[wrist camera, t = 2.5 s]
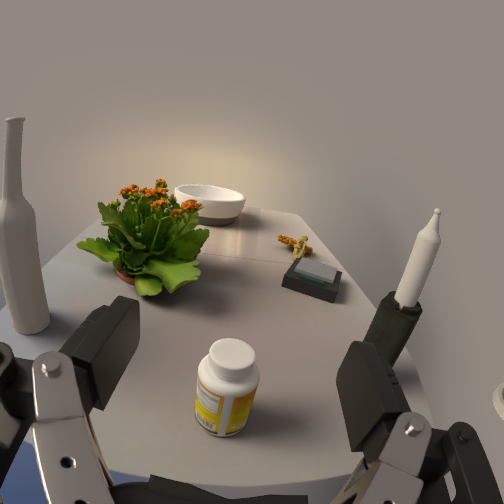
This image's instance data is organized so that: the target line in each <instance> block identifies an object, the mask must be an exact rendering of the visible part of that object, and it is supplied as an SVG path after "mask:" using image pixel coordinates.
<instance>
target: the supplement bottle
mask: <svg viewBox="0 0 504 504" xmlns="http://www.w3.org/2000/svg"><path fill="white" fill-rule="evenodd" d="M255 359H256V355H255V351H254V350H253V348H252V347H251V346H250V345H249V344H247V343H245V342H243V341H241V340H238V339H233V338H225V339H220V340H218V341H216V342H215V343H213V344H212V346H211V348H210V351H209V354H208V355H207V356H205V357H204V358H203V359H202V361H201V362H200V365H199V368H198V378H197V390H196V404H195V418H196V421H197V423H198V424H199V426H200V427H201V428H202V429H203V430H204V431H206V432H208V433H210V434H212V435H215V436H231V435H234V434H236V433H238V432H239V431H241V430H242V429H243V427H244V426H245V424H246V421H247V418H248V415H249V412H250V409H251V406H252V402H253V399H254V396H255V392H256V389H257V386H258V382H259V377H260V375H259V370H258V367H257V365H256V364H255Z"/></svg>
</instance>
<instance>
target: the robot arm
mask: <svg viewBox="0 0 504 504" xmlns="http://www.w3.org/2000/svg"><path fill="white" fill-rule="evenodd" d="M139 339H140V308H139V301H138V300H134V299H130V298H127V297H123V296H118V297H117V298H116V299H115V300H114V301H113V303H112V304H111V305H110V306H106V305H103V306H101V307H99V308H97V309H96V310H94V311H92V313H91V314H90V315H89V316H88V317H87V318H86V321H84V322H83V323H82V324H81V325H80V328H79V327H78V329H77V330H76V331H75V332H74V333H73V335H72V336H71V337H70V338H69V339H68V341H67V342H66V343H65V344H64V345H63V347H62V348H61V349H60V350H59V351H58V352H46V353H43V354H41V355H40V356H38V357H37V358H36V359H35V360H27V359H22V358H16V357H14V354H13V352H12V349H11V348H10V346H9V345H7V344H5V343H2V342H0V488H1V486H2V484H3V481H4V479H5V477H6V474H7V472H8V470H9V468H10V466H11V464H12V462H13V459H14V457H15V455H16V453H17V451H18V449H19V447H20V445H21V443H22V441H23V439H24V437H25V435H26V434H27V432H28V430H29V428H30V426H31V430H32V437H33V443H34V449H35V454H36V459H37V463H38V468H39V472H40V477H41V480H42V485H43V488H44V492H45V495H46V499H47V502H48V504H308V496H307V495H302V496H301V495H265V496H258V497H250V498H241V499H227V498H224V497H221V496H218V495H215V494H213V493H210V492H208V491H205V490H202V489H200V488H198V487H195V486H193V485H191V484H188V483H183V482H179V481H174V480H170V479H166V478H162V477H159V476H155V475H152V474H151V475H150V479H149V482H129V483H122V484H118V485H115V484H114V481H113V479H112V477H111V475H110V472H109V470H108V468H107V466H106V463H105V461H104V458H103V456H102V453H101V450H100V447H99V444H98V441H97V438H96V435H95V432H94V429H93V426H92V423H91V419H90V416H89V414H90V412H91V410H92V408H93V407H94V408H97V409H99V410H102V411H104V409H105V407H106V405H107V403H108V401H109V399H110V397H111V395H112V393H113V391H114V390H115V388H116V386H117V384H118V382H119V380H120V378H121V376H122V375H123V373H124V371H125V369H126V367H127V365H128V363H129V362H130V360H131V358H132V356H133V354H134V353H135V351H136V349H137V347H138V343H139ZM336 385H337V389H338V393H339V398H340V402H341V406H342V411H343V415H344V419H345V424H346V428H347V433H348V438H349V442H350V447H351V452H363V453H364V457H363V458H362V459H361V460H360V462H359V463H358V465H357V467H356V468H355V470H354V472H353V473H352V475H351V476H350V478H349V479H348V481H347V482H346V484H345V485H344V487H343V488H342V490H341V491H340V493H339V494H338V495H337V496H336V498H335V499H334V500H333V501H332V502H331V503H330V504H503V501H502V497H501V494H500V491H499V488H498V485H497V483H496V480H495V477H494V474H493V472H492V469H491V466H490V464H489V461H488V459H487V456H486V454H485V451H484V449H483V447H482V444H481V442H480V440H479V437H478V435H477V433H476V431H475V430H474V429H473V427H471V426H470V425H469V424H467V423H464V422H457V423H454V424H453V425H452V426H451V427H450V428H449V430H448V431H444V430H439V429H434V428H431V426H430V424H429V422H428V421H427V419H426V418H425V417H423V416H422V415H420V414H418V413H415V412H411V409H410V407H409V405H408V402H407V400H406V398H405V396H404V393H403V391H402V389H401V387H400V385H399V382H398V380H397V378H396V377H395V373H394V371H393V369H392V367H391V365H390V364H389V363H388V362H387V361H386V360H385V359H384V358H383V356H379V354H378V352H377V350H376V347H375V345H374V344H373V343H370V342H361V341H353V342H352V344H351V345H350V347H349V349H348V351H347V354H346V356H345V358H344V360H343V362H342V364H341V366H340V368H339V370H338V373H337V378H336ZM502 396H503V400H504V388H503V390H502ZM449 471H451V474H452V477H453V481H454V484H455V488H456V496H455V498H454V500H453V501H452V502H451V501H450V497H449V493H448V489H447V486H446V483H445V479H444V475H446V474H447V473H448V472H449ZM0 504H3V501H2V498H1V496H0Z"/></svg>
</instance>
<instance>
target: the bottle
mask: <svg viewBox="0 0 504 504" xmlns="http://www.w3.org/2000/svg"><path fill="white" fill-rule="evenodd" d="M24 120H25V117H15V118H8V119H6V120H5V122H6V132H5V145H4V167H3V188H2V190H3V191H2V199H1V201H0V276H1V281H2V286H3V290H4V295H5V299H6V302H7V306H8V310H9V313H10V317H11V320H12V323H13V327H14V328H15V330H16V331H17V332H19V333H21V334H27V335H31V334H36V333H38V332H41V331H42V330H44V329H45V328H46V327H47V326H48V325H49V323H50V314H49V309H48V304H47V299H46V294H45V289H44V284H43V278H42V272H41V266H40V259H39V251H38V242H37V232H36V221H35V212H34V210H33V208H32V206H31V205H30V204H29V203H28V201H27V200H26V199H25V197H24V196H23V193H22V182H21V145H22V131H23V121H24Z"/></svg>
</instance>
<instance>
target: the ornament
mask: <svg viewBox="0 0 504 504" xmlns="http://www.w3.org/2000/svg"><path fill="white" fill-rule="evenodd" d="M277 238H278V241H281V243H284V244H287V245H288V246H291V247H294V252H293V260H296V259H297V258H299V259H302V257H303V256H304V255H305V253H309V254H311V253H312V251H313V249H312V248H311V247H308V246H307V245H306V241H307V240H308V237H307V236H302V237H301V238H300V239H299V240H298V241H296V240H293V239H292V238H289V237H286V236H282V235H279V236H278V237H277ZM303 243H304V244H303ZM299 250H300V252H299Z"/></svg>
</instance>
